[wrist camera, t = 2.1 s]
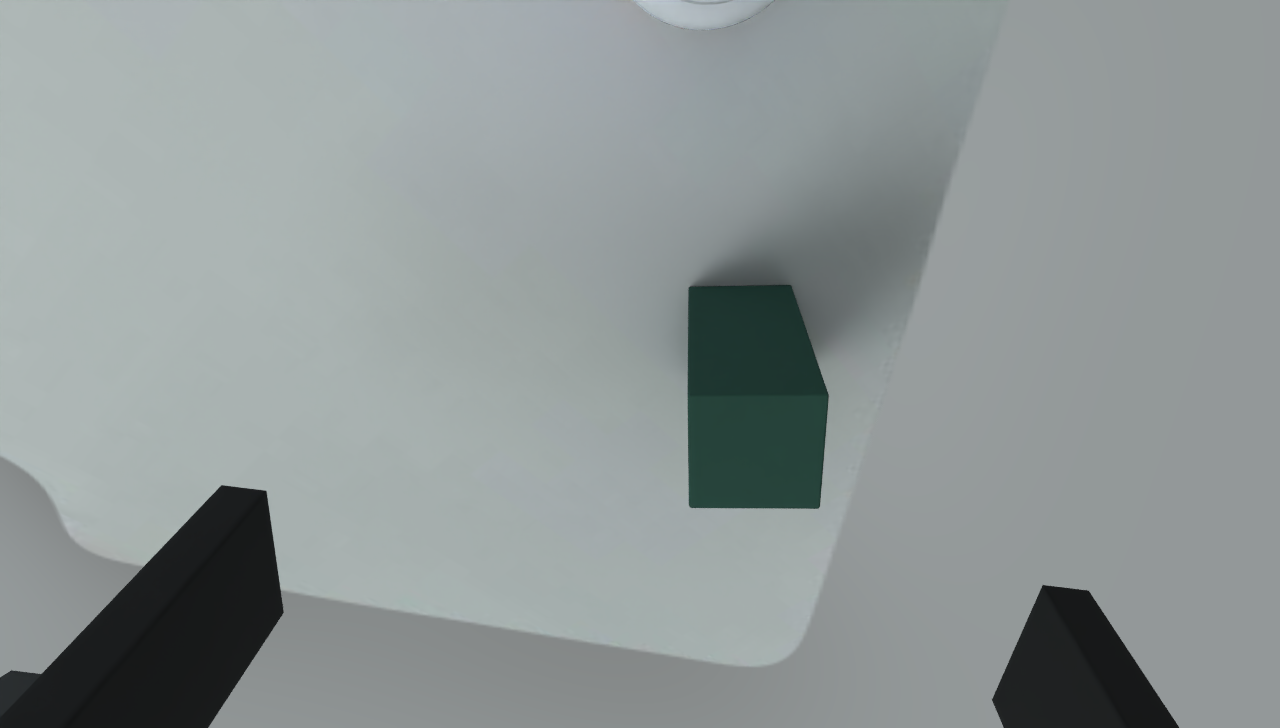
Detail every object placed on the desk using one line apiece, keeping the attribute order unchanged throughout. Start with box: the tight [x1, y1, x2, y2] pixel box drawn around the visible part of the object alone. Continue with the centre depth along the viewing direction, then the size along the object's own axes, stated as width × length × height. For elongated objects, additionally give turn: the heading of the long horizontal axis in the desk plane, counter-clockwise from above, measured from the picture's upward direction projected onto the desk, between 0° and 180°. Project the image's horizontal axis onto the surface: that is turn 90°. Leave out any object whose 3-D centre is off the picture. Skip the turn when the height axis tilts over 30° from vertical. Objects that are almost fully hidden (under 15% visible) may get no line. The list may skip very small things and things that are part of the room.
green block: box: [688, 285, 829, 509], centre depth 27 cm, size 4×4×9 cm
